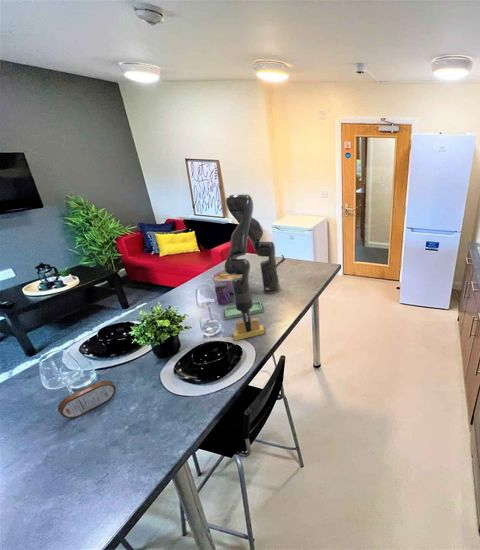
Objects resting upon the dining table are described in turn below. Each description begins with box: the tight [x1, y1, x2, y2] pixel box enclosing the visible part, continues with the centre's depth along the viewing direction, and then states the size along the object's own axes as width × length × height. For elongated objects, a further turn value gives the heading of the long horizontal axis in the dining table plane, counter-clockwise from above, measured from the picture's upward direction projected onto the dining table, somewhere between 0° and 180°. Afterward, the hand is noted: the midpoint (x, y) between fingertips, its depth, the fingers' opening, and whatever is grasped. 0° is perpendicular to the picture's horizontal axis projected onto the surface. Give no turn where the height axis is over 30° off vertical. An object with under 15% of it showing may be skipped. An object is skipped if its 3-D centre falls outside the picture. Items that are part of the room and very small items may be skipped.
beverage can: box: [214, 282, 231, 305], centre depth 171 cm, size 7×7×12 cm
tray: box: [224, 300, 264, 320], centre depth 164 cm, size 10×19×2 cm, turn 116°
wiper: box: [232, 317, 265, 341], centre depth 143 cm, size 5×14×8 cm, turn 116°
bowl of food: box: [211, 268, 242, 294], centre depth 185 cm, size 20×20×12 cm
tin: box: [57, 379, 117, 419], centre depth 102 cm, size 15×3×8 cm, turn 145°
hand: (248, 329), depth 144 cm, fingers closed on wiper, 2 cm apart
